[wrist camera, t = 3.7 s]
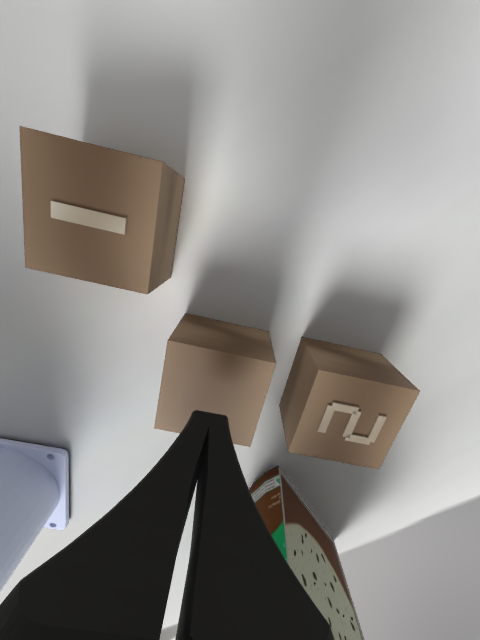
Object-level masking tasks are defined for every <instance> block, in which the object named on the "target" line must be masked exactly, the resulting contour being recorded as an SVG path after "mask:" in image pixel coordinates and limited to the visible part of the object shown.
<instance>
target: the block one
mask: <svg viewBox="0 0 480 640" xmlns="http://www.w3.org/2000/svg"><path fill="white" fill-rule="evenodd" d="M20 147H21V171H22V196H23V220H24V245H25V268H30V269H35V270H39V271H44V272H48V273H53V274H57V275H62V276H66V277H71V278H76V279H80V280H85V281H89V282H94V283H98V284H103V285H107V286H112V287H117V288H121V289H126V290H130V291H135V292H139V293H144V294H149V293H150V292H151V291H153V290H154V289H156V288H157V287H158V286H160V285H161V284H162V283H164V282H165V281H167V280H168V279H169V278H171V273H172V266H173V259H174V252H175V245H176V238H177V231H178V224H179V217H180V210H181V203H182V196H183V189H184V181H185V179H184V178H183V177H181V176H180V175H179V174H178V173H176V172H175V171H174V170H172V169H171V168H170V167H169V166H167V165H166V164H165V163H163V162H161V161H157V160H153V159H149V158H145V157H141V156H137V155H133V154H129V153H125V152H121V151H117V150H113V149H109V148H105V147H101V146H97V145H93V144H89V143H85V142H81V141H77V140H73V139H69V138H65V137H62V136H58V135H54V134H50V133H46V132H42V131H38V130H34V129H30V128H26V127H22V126H20Z"/></svg>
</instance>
